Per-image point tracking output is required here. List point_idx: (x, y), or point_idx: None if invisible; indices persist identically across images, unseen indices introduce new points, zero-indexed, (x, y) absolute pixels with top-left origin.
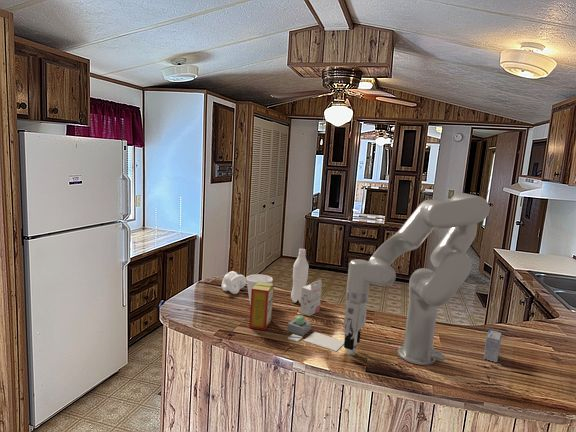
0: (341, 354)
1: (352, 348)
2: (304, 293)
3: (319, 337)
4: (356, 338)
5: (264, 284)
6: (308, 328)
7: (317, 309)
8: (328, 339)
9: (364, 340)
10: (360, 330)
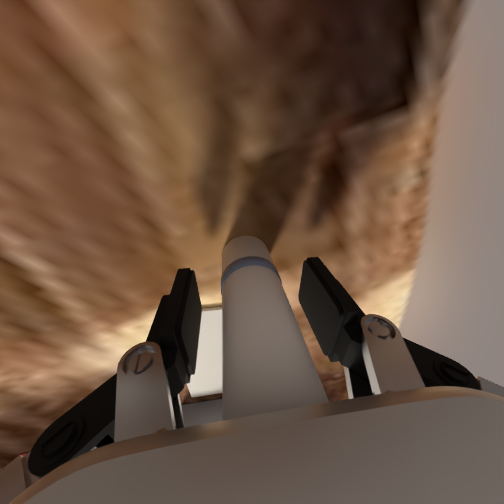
0: (287, 277)
1: (321, 262)
2: None
3: (217, 375)
4: (270, 302)
5: None
6: (203, 416)
7: None
8: (207, 356)
9: (37, 262)
10: (136, 350)
